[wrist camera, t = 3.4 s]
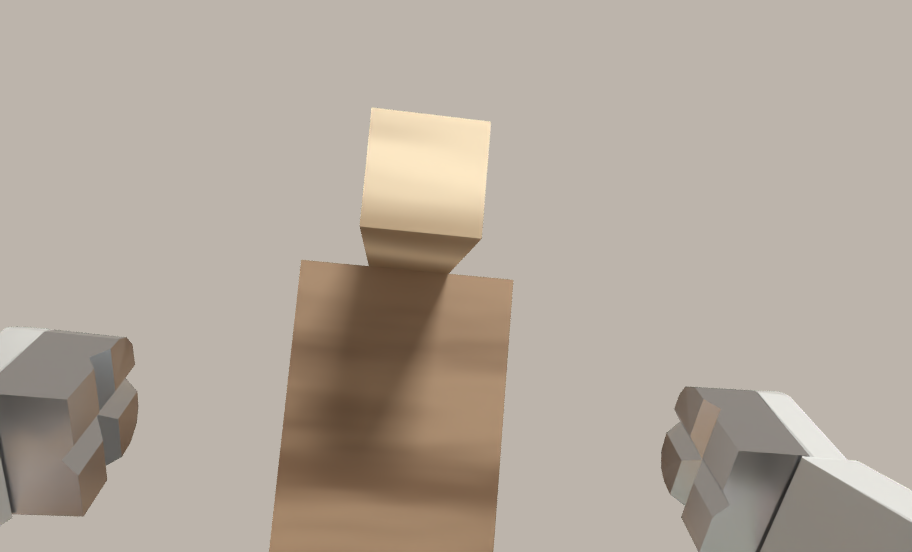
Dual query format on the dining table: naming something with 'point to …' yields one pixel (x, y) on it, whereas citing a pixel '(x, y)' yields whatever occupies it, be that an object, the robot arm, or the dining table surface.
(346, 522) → the walnut stand
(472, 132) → the beech rod
